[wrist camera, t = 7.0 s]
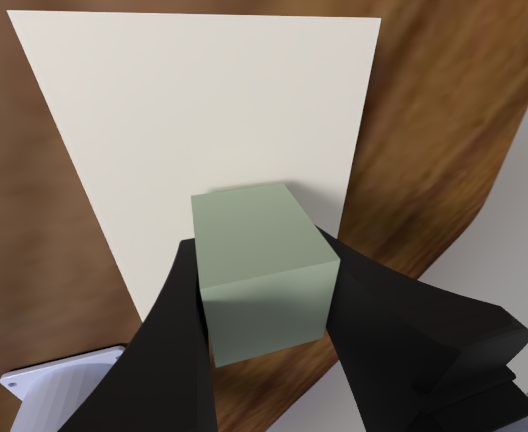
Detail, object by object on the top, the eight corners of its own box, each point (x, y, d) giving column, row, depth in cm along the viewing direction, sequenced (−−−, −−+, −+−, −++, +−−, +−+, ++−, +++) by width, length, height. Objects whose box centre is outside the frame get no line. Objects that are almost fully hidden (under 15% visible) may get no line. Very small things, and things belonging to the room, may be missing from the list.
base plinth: (308, 266, 21) (325, 295, 19) (152, 299, 19) (149, 337, 16) (341, 22, 12) (381, 18, 10) (48, 17, 10) (6, 10, 7)
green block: (280, 251, 14) (322, 337, 10) (203, 266, 13) (215, 367, 9) (283, 183, 12) (340, 259, 8) (190, 195, 11) (200, 289, 7)
